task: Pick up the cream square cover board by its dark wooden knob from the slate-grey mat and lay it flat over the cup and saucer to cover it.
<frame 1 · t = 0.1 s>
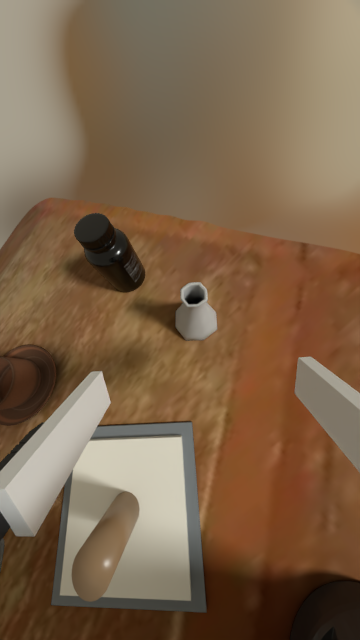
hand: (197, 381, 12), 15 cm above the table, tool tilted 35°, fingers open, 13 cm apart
flask: (195, 320, 29), on the table
cup and saucer: (30, 382, 29), on the table
mat: (129, 503, 22), on the table
cover board: (113, 531, 18), on the mat
supplement bottle: (129, 278, 33), on the table
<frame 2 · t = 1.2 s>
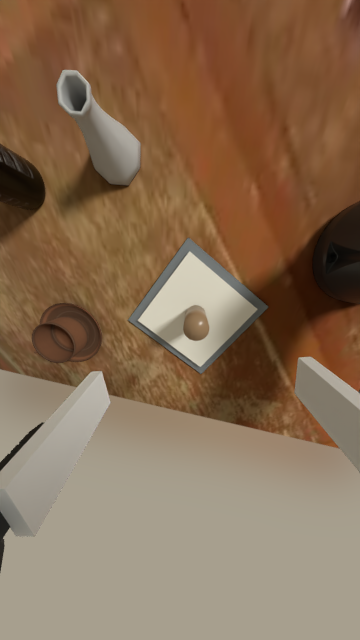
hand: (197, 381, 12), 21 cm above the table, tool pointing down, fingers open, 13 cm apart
flask: (118, 158, 25), on the table
cup and saucer: (77, 330, 35), on the table
mat: (195, 313, 32), on the table
cover board: (195, 320, 27), on the mat
supplement bottle: (27, 187, 27), on the table
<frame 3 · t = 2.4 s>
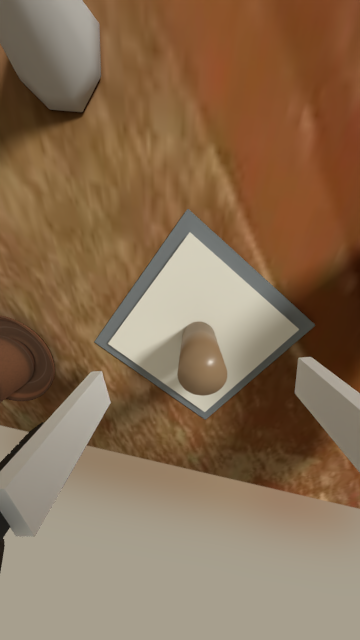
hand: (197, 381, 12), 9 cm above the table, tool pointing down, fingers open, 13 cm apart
flask: (62, 60, 14), on the table
cup and saucer: (21, 353, 23), on the table
mat: (198, 332, 20), on the table
cover board: (199, 349, 16), on the mat
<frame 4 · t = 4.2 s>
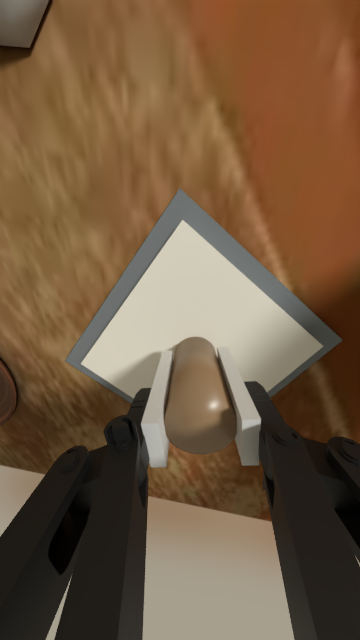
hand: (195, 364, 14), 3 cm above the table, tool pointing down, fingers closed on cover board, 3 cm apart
mat: (194, 349, 16), on the table
cover board: (196, 377, 12), on the mat, touching gripper
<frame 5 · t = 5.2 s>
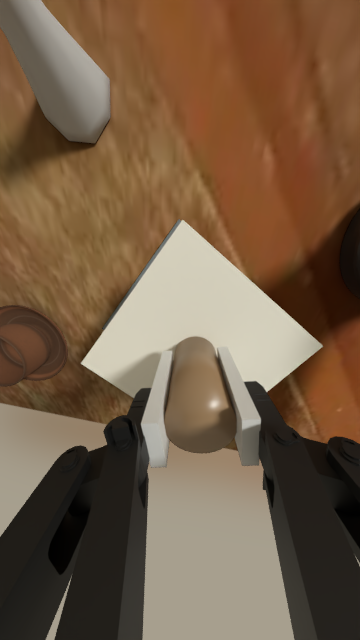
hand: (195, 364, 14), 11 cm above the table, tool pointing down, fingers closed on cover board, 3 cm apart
flask: (79, 103, 18), on the table
cup and saucer: (36, 339, 27), on the table
mat: (188, 319, 25), on the table
cover board: (196, 377, 12), point 13 cm above the table, touching gripper
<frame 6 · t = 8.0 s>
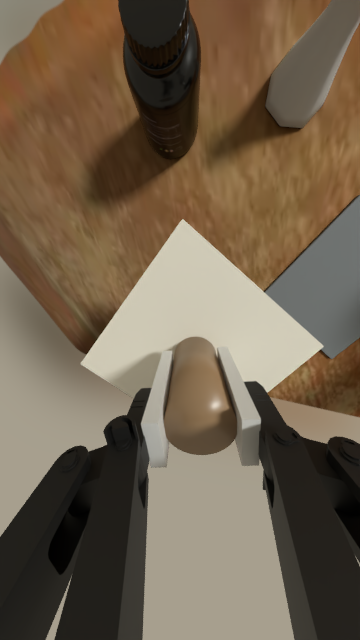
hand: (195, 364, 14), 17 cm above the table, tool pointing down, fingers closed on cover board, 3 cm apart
flask: (295, 93, 21), on the table
mat: (342, 288, 28), on the table
cover board: (196, 377, 12), point 19 cm above the table, touching gripper
supplement bottle: (171, 130, 23), on the table
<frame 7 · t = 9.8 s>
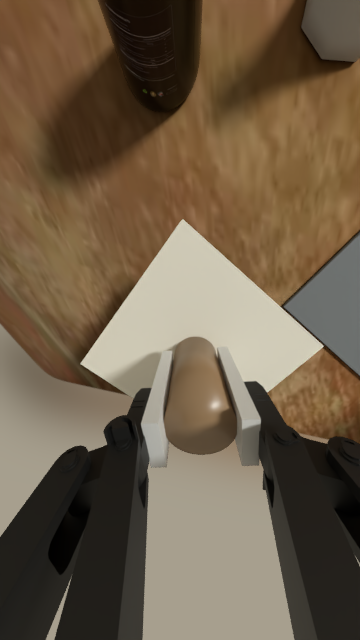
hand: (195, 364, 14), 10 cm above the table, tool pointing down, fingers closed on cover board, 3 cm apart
flask: (346, 7, 14), on the table
cover board: (196, 377, 12), point 11 cm above the table, touching gripper
supplement bottle: (161, 69, 16), on the table
when the fingers open (10 cm above the table, at t = 9.8 s): cover board drops 2 cm, resting on cup and saucer.
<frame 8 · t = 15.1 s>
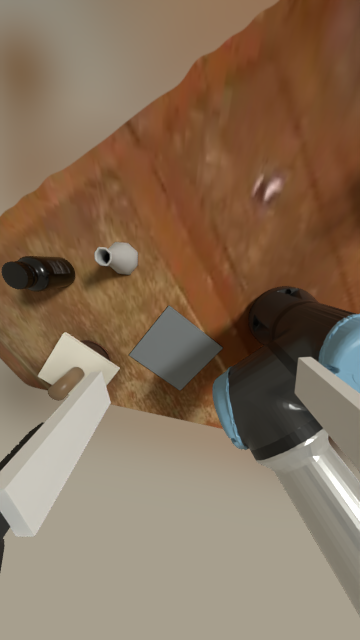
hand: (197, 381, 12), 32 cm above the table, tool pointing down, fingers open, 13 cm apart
flask: (123, 258, 40), on the table
cup and saucer: (93, 356, 49), on the table, touching cover board
mat: (175, 351, 47), on the table
cover board: (68, 381, 39), point 10 cm above the table, touching cup and saucer
supplement bottle: (63, 272, 42), on the table
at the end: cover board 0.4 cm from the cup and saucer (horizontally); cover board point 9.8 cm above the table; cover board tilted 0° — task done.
